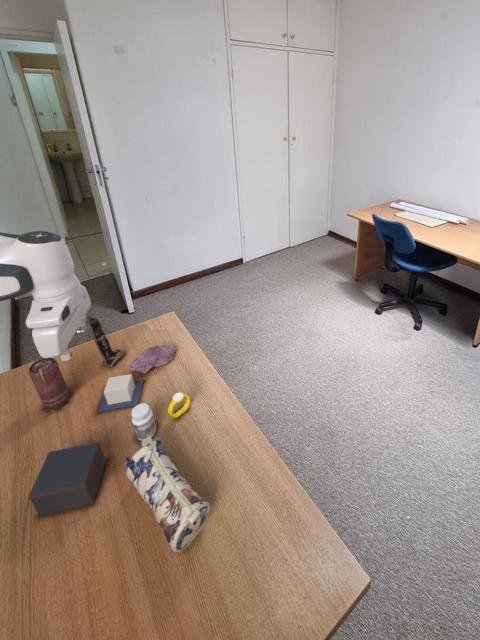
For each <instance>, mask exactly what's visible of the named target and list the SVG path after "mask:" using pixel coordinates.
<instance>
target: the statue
mask: <svg viewBox="0 0 480 640" xmlns="http://www.w3.org/2000/svg"><path fill="white" fill-rule="evenodd" d="M86 319H87V322H88V327H89V329H90V333H91V335H92V336H91V337H92V339H93V341H94V344H95V346H96V348H97V350H98V352H99V355H100V356H101V358H102V362H101V365H102V366H103V367H108V368H114V366H115V365H116V364H117V363H118V362H119V361H120V360H121V359H122V358H123V357H124V356H125V355H126V351H125V350H122V349H114V350H113V349H112V347H111V345H110V341H109V339H108V338H107V336H106V333H105V332H104V330H103V328H102V324H101V323H100V321H99V320H98V319H97V318H95V317H93V316H86Z"/></svg>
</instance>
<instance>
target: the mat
mask: <svg viewBox="0 0 480 640" xmlns="http://www.w3.org/2000/svg"><path fill="white" fill-rule="evenodd" d="M134 384H135V389H134V392H133V396H132V400H131V401H127V402H121V403H115V404H110V405H108V403H107V400H106V397H105V395H104V394H103V396H102V399H101V401H100V405H99V407H98V410H97V412H98V413H102V412H108V411H113V410H118V409H124V408H129V407H130V408H131V407H135V406H137V405H138V404H139V401H140V397H141V393H142V390H143V385H144V381H137V382H134Z"/></svg>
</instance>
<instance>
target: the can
mask: <svg viewBox="0 0 480 640" xmlns="http://www.w3.org/2000/svg"><path fill="white" fill-rule="evenodd" d="M28 376H29V378H30V380H31V382H32V384H33V386H34V389H35V391H36V393H37V395H38V397H39V400H40V401H41V403H42V405H43V407H44V409H45V410H48V411H55V410H58V409H61V408H62V407H64V406H65V405H66V404H67V403H68V402H69V401H70V398H71V393H70V390H69V388H68V385H67V383H66V380H65V378H64V375H63V373H62V371H61V368H60V365H59V363H58V361H57V360H56V359H55V358H54V357H53V358H43V357H41V358H40V359H38V360H36V361H34V362H33V363H32V364H31V365H30V366H29V368H28Z"/></svg>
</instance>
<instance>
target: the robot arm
mask: <svg viewBox="0 0 480 640" xmlns="http://www.w3.org/2000/svg"><path fill="white" fill-rule="evenodd" d="M74 270H75V263H74V260H73V258H72V255H71V252H70V250H69V247H68V245H67V244H66V242H65V240H64V238H63V237H62V236H61V235H60V234H57V233H56V232H52V231H48V230H33V231H28V232H24V233H21V234H17V233H16V234H15V233H9V232H7V233H6V232H1V231H0V302H4V301H8V300H13V299H15V298H19V297H21V296H22V297H23V296H24V295H27V294H29V293H31V295H32V298H33V300H32V301H31V306H30V310H29V313H28V315H27V317H26V319H25V325H26V327H27V329H32V330H31V336H32V340H33V342H34V345H35V348H36V350H37V352H38V354H39V356H40V357H41V358H53V359H54V358H58V357H60V360H61V361H63V362H65V361H70V360H71V358H72V356H73V352H72V349H68V346H69V344H70V343H71V341H72V339H73V337H74V335H75V334H77V335H81V334H85V333H86V331H87V325H86V323H87V322H86V319H87V316H86V315H87V314H88V311H89V310H90V309H91V306H92V301H91V298H90V295H89V293H88V290H87V288H86V286H85V285H82V283H81V281H80V279H78V277H77V276H76V274H75V271H74Z"/></svg>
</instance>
